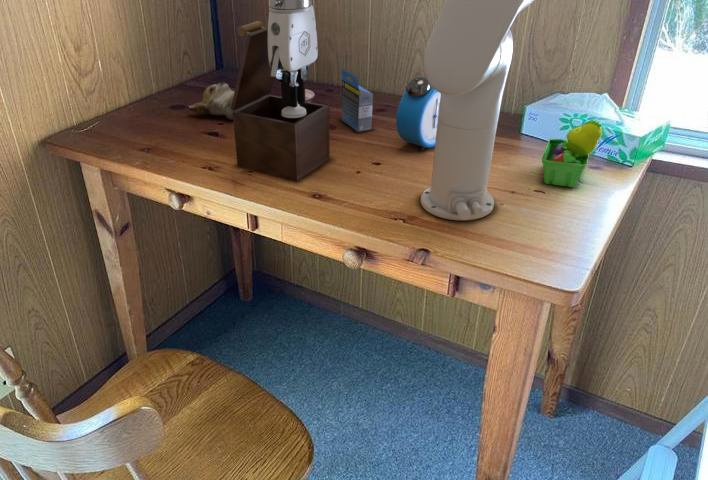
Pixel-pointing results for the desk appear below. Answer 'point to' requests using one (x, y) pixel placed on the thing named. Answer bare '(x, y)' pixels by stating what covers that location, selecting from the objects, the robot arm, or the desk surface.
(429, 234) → the desk surface
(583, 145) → the fruit basket
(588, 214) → the desk surface
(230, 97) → the ceramic sculpture
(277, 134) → the chest
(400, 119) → the alarm clock
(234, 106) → the lid
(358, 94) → the blue cardboard box
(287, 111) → the chess piece
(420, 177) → the desk surface
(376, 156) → the desk surface
